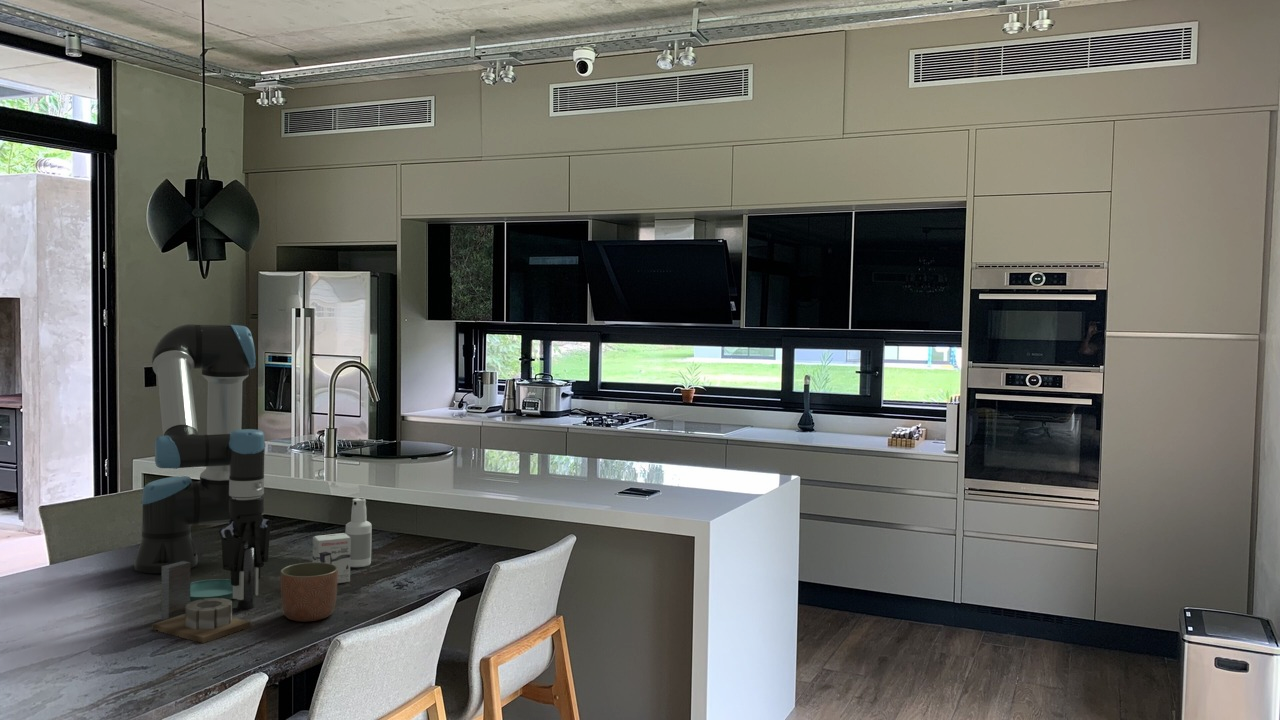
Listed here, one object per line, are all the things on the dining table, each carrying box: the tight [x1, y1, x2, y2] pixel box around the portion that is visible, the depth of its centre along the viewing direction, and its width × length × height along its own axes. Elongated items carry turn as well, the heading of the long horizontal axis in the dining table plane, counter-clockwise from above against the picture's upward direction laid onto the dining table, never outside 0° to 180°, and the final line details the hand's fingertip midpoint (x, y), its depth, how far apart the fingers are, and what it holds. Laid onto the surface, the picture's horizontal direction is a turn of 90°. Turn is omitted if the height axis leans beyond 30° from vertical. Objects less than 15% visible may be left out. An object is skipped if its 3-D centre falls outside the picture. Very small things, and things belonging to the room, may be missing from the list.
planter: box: [280, 561, 338, 623], centre depth 218 cm, size 12×12×11 cm
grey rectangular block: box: [160, 561, 192, 621], centre depth 215 cm, size 6×2×12 cm, turn 153°
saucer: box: [190, 578, 234, 602], centre depth 230 cm, size 15×15×3 cm
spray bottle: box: [345, 497, 373, 568], centre depth 263 cm, size 7×7×18 cm
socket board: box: [151, 598, 251, 644], centre depth 208 cm, size 16×12×5 cm
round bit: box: [236, 545, 255, 611], centre depth 223 cm, size 4×4×14 cm
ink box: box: [312, 532, 351, 584], centre depth 246 cm, size 8×5×12 cm, turn 123°
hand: (245, 596), depth 223 cm, fingers closed on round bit, 3 cm apart
